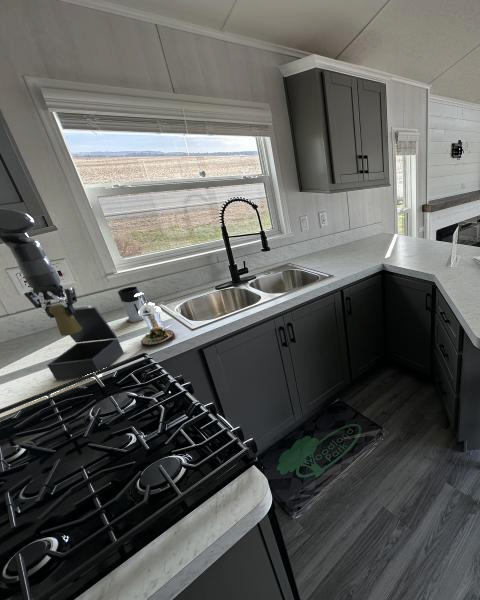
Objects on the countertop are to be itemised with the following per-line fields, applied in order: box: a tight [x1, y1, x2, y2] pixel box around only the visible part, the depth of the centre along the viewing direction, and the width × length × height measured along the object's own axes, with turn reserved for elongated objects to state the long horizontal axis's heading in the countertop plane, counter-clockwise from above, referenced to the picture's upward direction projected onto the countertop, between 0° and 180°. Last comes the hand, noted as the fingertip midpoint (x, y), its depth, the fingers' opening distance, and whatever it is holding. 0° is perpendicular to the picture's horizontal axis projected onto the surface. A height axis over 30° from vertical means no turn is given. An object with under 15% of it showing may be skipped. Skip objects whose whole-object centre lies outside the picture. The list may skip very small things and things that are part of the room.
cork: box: [49, 302, 83, 337], centre depth 117 cm, size 6×6×11 cm
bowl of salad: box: [140, 325, 176, 346], centre depth 140 cm, size 12×12×8 cm
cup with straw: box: [133, 292, 165, 331], centre depth 145 cm, size 8×9×20 cm
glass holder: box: [117, 286, 148, 323], centre depth 158 cm, size 9×14×15 cm, turn 72°
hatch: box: [69, 304, 118, 344], centre depth 127 cm, size 15×15×5 cm
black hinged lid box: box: [46, 338, 125, 381], centre depth 125 cm, size 15×15×7 cm
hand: (63, 315), depth 116 cm, fingers closed on cork, 5 cm apart
